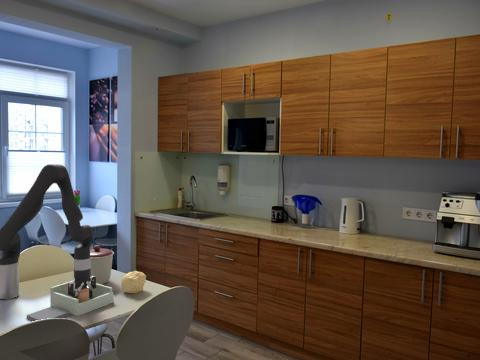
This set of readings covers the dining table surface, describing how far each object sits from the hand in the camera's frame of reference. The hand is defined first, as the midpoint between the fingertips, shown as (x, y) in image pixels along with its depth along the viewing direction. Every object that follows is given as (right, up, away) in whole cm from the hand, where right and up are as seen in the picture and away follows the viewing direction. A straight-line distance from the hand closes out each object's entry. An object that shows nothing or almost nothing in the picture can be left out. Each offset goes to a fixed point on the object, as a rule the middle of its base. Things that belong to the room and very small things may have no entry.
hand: (82, 300), depth 192 cm
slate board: (-9, -3, -15) cm, 18 cm away
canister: (-4, 0, +32) cm, 32 cm away
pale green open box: (0, -2, 0) cm, 2 cm away
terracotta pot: (0, -2, 0) cm, 2 cm away
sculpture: (+19, -1, +19) cm, 27 cm away
